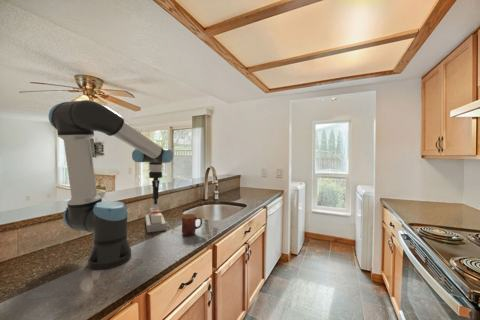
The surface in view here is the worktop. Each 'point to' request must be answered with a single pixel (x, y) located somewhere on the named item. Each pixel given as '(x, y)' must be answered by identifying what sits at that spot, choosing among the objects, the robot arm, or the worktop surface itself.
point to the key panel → (156, 226)
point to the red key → (155, 211)
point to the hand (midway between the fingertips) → (155, 208)
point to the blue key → (152, 209)
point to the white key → (156, 218)
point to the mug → (189, 224)
